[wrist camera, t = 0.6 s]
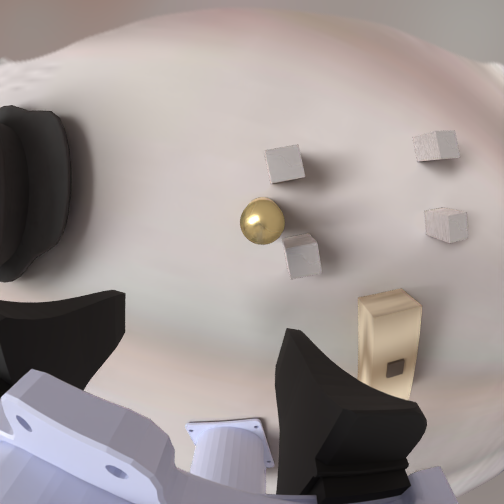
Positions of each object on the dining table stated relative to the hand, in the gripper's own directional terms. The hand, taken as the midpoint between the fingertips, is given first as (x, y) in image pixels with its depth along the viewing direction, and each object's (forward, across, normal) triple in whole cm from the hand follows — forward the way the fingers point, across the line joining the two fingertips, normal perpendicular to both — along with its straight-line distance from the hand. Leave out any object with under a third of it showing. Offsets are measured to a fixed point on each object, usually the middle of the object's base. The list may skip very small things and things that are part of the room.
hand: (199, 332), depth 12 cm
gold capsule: (+10, -2, -4) cm, 11 cm away
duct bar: (+10, -14, +4) cm, 18 cm away
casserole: (+10, +26, -3) cm, 28 cm away
